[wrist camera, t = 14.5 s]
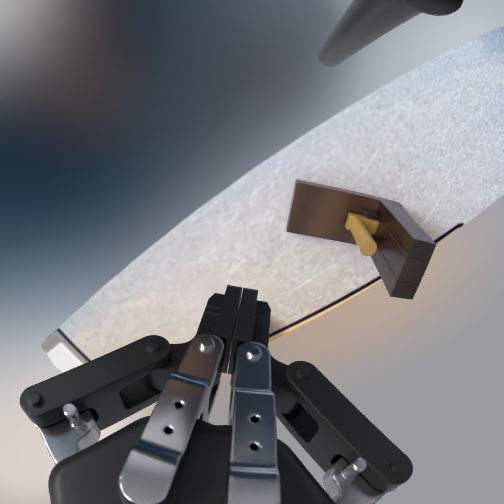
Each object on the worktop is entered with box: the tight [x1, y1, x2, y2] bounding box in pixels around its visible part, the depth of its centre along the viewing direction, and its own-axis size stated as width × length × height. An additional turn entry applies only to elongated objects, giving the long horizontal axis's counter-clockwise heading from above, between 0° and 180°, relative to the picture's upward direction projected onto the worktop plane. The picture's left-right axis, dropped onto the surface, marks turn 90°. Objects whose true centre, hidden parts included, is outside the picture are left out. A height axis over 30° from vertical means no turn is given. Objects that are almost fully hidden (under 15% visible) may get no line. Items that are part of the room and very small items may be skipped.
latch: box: [286, 180, 436, 299], centre depth 34 cm, size 15×7×14 cm, turn 82°
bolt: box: [345, 213, 380, 256], centre depth 35 cm, size 6×2×8 cm, turn 82°
